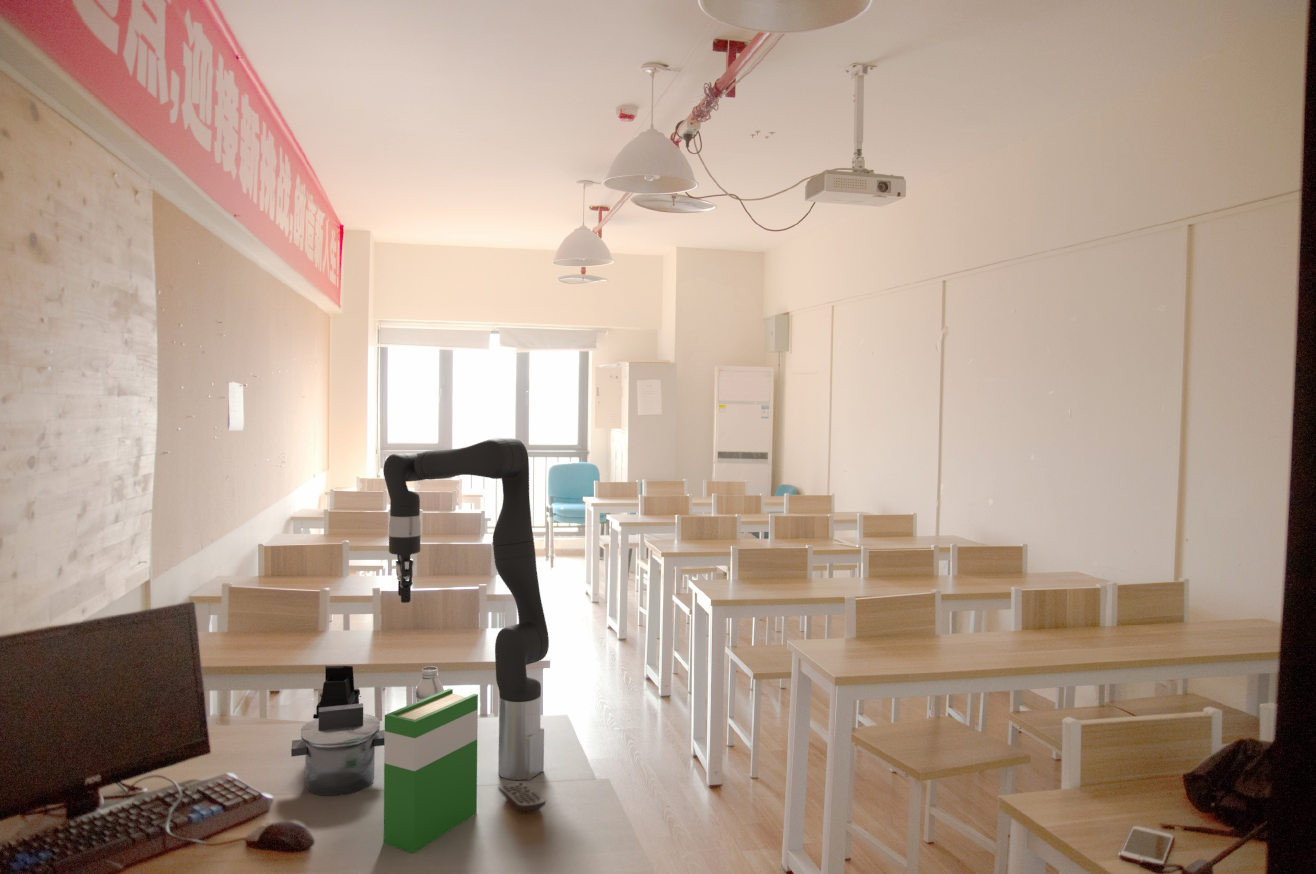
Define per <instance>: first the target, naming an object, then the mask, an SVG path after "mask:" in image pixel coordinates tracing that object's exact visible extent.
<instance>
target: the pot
mask: <svg viewBox="0 0 1316 874" xmlns="http://www.w3.org/2000/svg"><path fill="white" fill-rule="evenodd" d="M384 738H385V729H381V730H380V729H379V731H378V732H377V733H376V734H375V735H373V736H372V737H370V738H367V739H365V740H362V741H359V742H355V743H350V744H344V745H334V746H322V745H314V744H309V743H307V742H305V741H303V740H302V739H301V738H300V739H293V740H291V748H290V749H291V753H290V755H291V757H293V758H294V757H299V756H304V758H305V761H304V762H305V764H304V765H305V766H304V767H305V768H304V769H305V771H304V773H305V774H304V775H305V776H304V777H305V778H304V780H305V781H304V784H305V785H304V787H305V790H306V791H307V792H308V793H310V794H312V795H315V796H320V797H336V796H337V797H338V796H345V795H348V794H354V793H357V792H359V791H362V790H363V789H366V788H367V787H369V786H371V785H372V783H373V782H374V780H375V757H376V755H375V749H376V747H382V746H383V747H384Z"/></svg>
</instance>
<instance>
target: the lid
mask: <svg viewBox="0 0 1316 874" xmlns="http://www.w3.org/2000/svg"><path fill="white" fill-rule="evenodd" d="M380 722H381V720H380V719H379V718H378V717H376V716H374V715H372V714H368V713H364V703H359V704H351V705H341V706H331V707H321V708H319V718H318V719H313V720H310V721H308V722H307V723H305V724H304V725H302V726H301V730H300V740H301V739H302V740H303V741H305V742H307V743H309V744H314V745H322V746H334V745H344V744H350V743H355V742H359V741H362V740H365V739H367V738H370V737H372V736H373V735H375V734H376V733H377V732H378V731H380V729H381V723H380Z"/></svg>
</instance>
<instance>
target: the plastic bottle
mask: <svg viewBox="0 0 1316 874" xmlns="http://www.w3.org/2000/svg"><path fill="white" fill-rule="evenodd" d="M438 677H439V667H437V666H425V667H423V668H421V679H420V682H418V684H417V686H416V688H415V692H414V693H415V701H416V702H418V701H420V700H423V699H425V698H427V697H430V696H432V695H435V694H437V693H440V692H442V691H445V689H444V686H443V684H442V683H441V681H440V680H439V678H438Z"/></svg>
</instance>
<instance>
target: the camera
mask: <svg viewBox="0 0 1316 874" xmlns="http://www.w3.org/2000/svg"><path fill="white" fill-rule="evenodd" d="M324 671H325V672H324V673H325V674H324V675H325V676H324V677H325V681H323V685H322V692H321V693H320V694H319V697H320V701H319V702H318V703H317V705H316V707H315V708H316V713H314V714H313V715H312V716H313V717H312V718H313V720H315V719H318V718H319V708H321V707H331V706H341V705H351V704H360V698H362V695H361V691H360V688H355V680H354V666H353V665H325V670H324Z"/></svg>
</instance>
